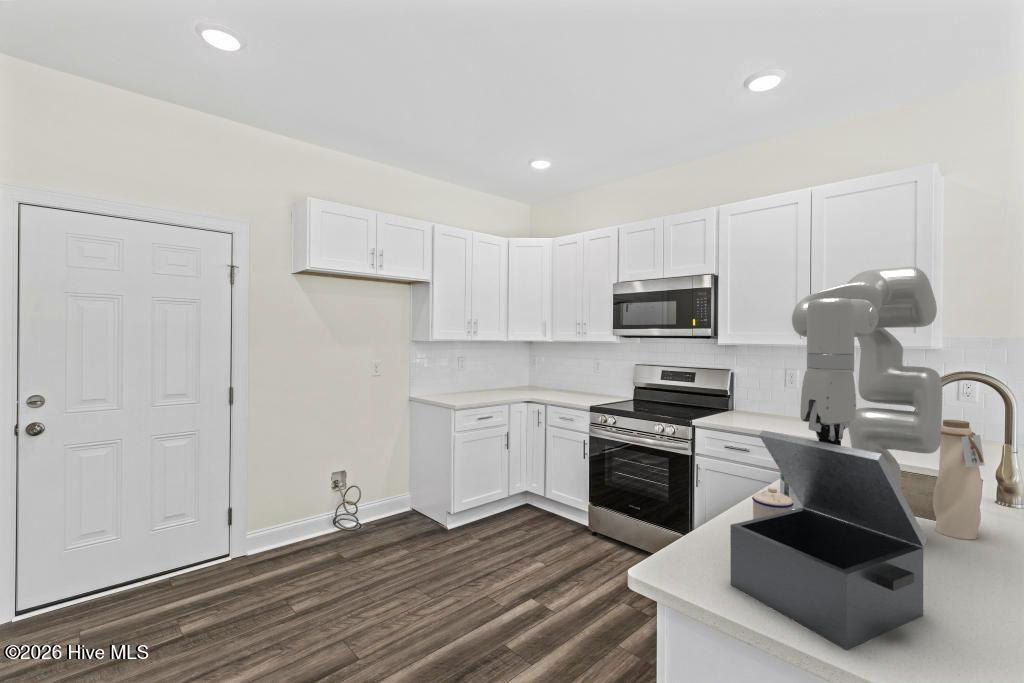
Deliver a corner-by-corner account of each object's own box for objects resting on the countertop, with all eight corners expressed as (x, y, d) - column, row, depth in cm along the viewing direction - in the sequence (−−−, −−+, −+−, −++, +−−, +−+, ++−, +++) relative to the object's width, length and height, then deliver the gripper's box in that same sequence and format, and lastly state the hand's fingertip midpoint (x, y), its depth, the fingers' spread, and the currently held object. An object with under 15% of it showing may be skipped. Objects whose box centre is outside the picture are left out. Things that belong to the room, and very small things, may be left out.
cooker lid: (802, 507, 104) (813, 492, 106) (923, 547, 84) (934, 528, 86) (758, 435, 98) (770, 420, 100) (877, 460, 78) (890, 440, 80)
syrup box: (779, 502, 142) (779, 454, 141) (801, 504, 140) (801, 455, 140) (784, 509, 136) (784, 458, 136) (808, 511, 134) (808, 460, 134)
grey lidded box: (792, 557, 107) (792, 504, 107) (939, 622, 82) (940, 553, 82) (720, 579, 98) (720, 520, 97) (863, 659, 73) (863, 581, 73)
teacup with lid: (779, 545, 113) (779, 496, 113) (744, 531, 121) (744, 485, 121) (808, 534, 119) (808, 487, 119) (772, 522, 127) (772, 478, 127)
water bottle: (997, 540, 115) (997, 424, 115) (971, 545, 112) (972, 426, 112) (947, 524, 125) (948, 417, 125) (923, 528, 122) (923, 419, 122)
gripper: (834, 361, 97) (833, 452, 97) (785, 363, 91) (784, 459, 91) (875, 363, 90) (874, 460, 90) (824, 365, 84) (824, 469, 84)
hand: (829, 459), depth 91 cm, fingers closed
